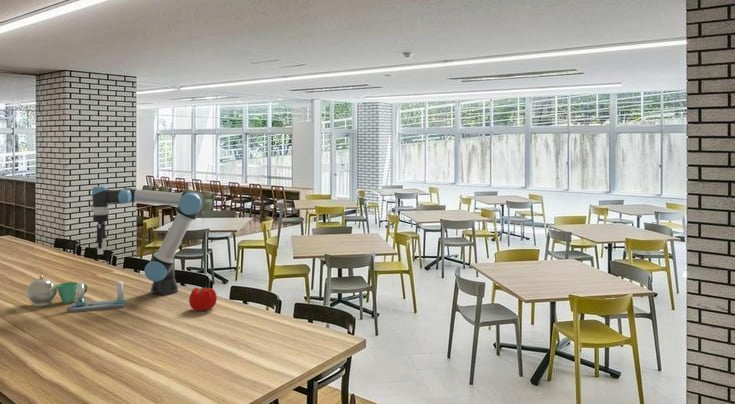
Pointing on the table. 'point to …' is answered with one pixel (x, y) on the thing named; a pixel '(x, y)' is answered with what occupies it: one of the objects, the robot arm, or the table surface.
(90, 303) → the grey and teal piece
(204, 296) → the tomato
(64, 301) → the mug
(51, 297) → the teapot
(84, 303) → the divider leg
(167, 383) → the table surface
